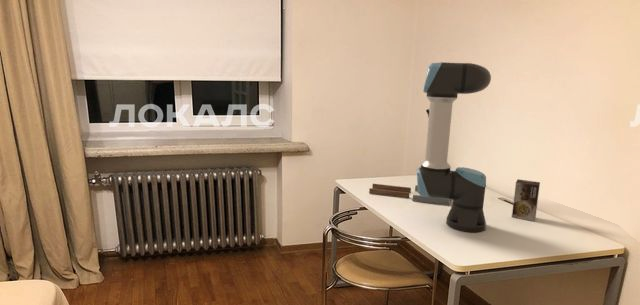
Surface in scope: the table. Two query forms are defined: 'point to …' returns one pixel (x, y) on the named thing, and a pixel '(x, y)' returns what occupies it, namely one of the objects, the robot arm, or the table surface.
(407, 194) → the chute
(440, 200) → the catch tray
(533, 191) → the coffee box
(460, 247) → the table surface
